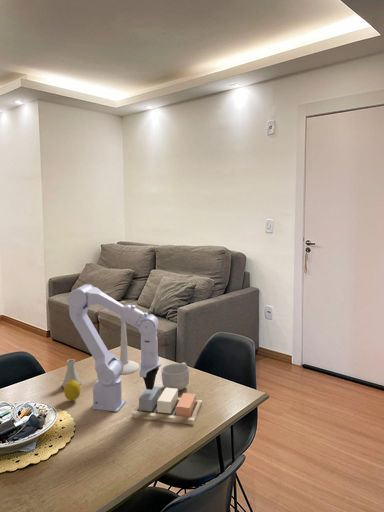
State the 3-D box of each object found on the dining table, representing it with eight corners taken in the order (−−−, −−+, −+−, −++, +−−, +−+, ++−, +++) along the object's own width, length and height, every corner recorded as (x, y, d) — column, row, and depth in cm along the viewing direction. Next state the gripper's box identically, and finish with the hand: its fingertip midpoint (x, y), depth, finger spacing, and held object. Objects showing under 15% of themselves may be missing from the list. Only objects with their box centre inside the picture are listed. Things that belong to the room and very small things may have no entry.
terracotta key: (176, 417, 135) (176, 406, 135) (183, 403, 145) (183, 392, 144) (189, 419, 134) (189, 407, 134) (195, 404, 144) (195, 394, 143)
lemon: (76, 405, 144) (75, 384, 143) (61, 404, 146) (60, 382, 145) (83, 398, 150) (82, 377, 149) (69, 396, 151) (68, 376, 150)
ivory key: (157, 411, 136) (157, 400, 136) (165, 398, 146) (165, 387, 146) (170, 413, 135) (170, 402, 135) (178, 399, 145) (177, 388, 145)
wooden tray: (131, 417, 136) (131, 413, 136) (145, 397, 150) (145, 394, 150) (193, 424, 132) (193, 420, 132) (202, 404, 145) (202, 400, 145)
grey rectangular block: (139, 409, 138) (138, 398, 137) (148, 396, 147) (148, 385, 147) (151, 411, 137) (151, 400, 136) (160, 397, 146) (160, 386, 146)
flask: (78, 389, 157) (77, 364, 156) (59, 389, 157) (58, 364, 156) (83, 381, 164) (82, 357, 163) (65, 381, 164) (64, 357, 163)
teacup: (177, 396, 151) (177, 376, 150) (155, 388, 157) (155, 369, 156) (199, 383, 162) (199, 364, 161) (178, 376, 168) (178, 358, 167)
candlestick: (110, 375, 169) (108, 305, 166) (108, 364, 182) (106, 298, 178) (141, 372, 173) (139, 303, 169) (137, 361, 185) (136, 296, 181)
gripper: (153, 359, 132) (154, 399, 134) (166, 344, 146) (166, 380, 148) (133, 357, 133) (134, 397, 135) (147, 343, 147) (148, 379, 149)
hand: (149, 388), depth 141 cm, fingers closed
